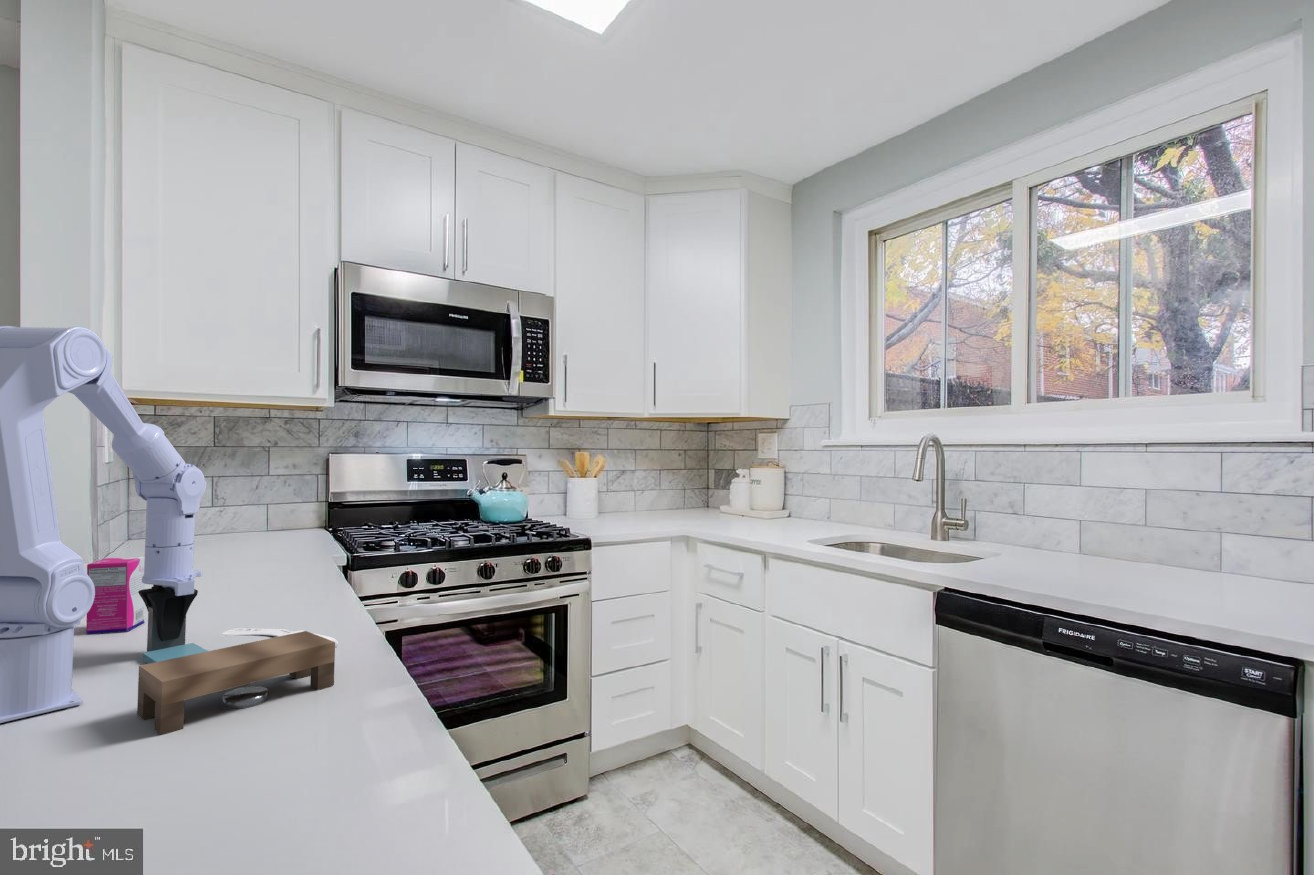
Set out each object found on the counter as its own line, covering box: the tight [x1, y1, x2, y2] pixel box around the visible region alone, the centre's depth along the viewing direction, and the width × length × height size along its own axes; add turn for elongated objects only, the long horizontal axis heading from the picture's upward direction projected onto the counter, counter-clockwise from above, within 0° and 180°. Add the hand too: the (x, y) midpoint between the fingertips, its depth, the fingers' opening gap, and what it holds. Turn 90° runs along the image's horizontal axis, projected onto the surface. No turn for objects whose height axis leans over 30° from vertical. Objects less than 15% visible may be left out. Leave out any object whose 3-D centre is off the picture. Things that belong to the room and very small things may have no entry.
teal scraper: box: [141, 606, 208, 664], centre depth 85 cm, size 6×23×7 cm, turn 53°
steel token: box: [221, 685, 269, 710], centre depth 74 cm, size 4×4×1 cm
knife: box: [221, 627, 339, 649], centre depth 99 cm, size 30×2×8 cm
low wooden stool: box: [136, 630, 336, 735], centre depth 75 cm, size 18×8×6 cm, turn 143°
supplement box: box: [85, 555, 145, 635], centre depth 104 cm, size 6×6×12 cm
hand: (166, 637), depth 91 cm, fingers closed on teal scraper
